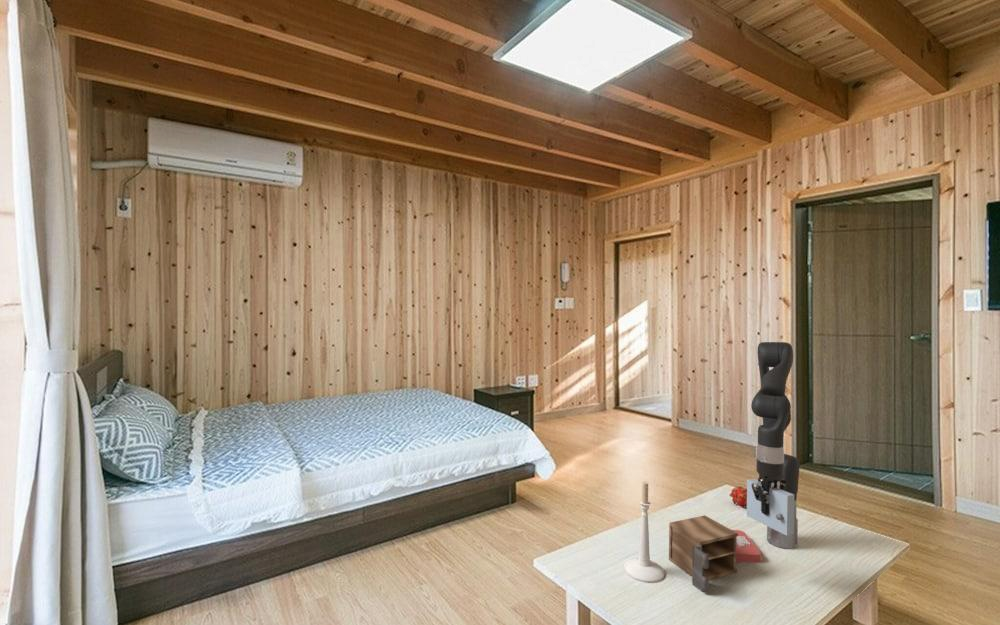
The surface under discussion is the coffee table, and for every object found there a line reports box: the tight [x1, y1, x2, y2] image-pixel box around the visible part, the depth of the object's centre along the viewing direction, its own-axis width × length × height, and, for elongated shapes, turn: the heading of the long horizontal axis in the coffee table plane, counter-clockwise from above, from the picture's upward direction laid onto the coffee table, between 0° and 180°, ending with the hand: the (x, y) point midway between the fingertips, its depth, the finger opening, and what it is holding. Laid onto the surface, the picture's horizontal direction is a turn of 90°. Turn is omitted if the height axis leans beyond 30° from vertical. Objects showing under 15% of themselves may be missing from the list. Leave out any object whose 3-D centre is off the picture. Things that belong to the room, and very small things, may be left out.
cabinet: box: [668, 514, 738, 593], centre depth 154 cm, size 20×20×13 cm
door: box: [746, 478, 794, 536], centre depth 147 cm, size 4×14×12 cm, turn 22°
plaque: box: [732, 529, 762, 563], centre depth 169 cm, size 18×4×15 cm
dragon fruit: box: [729, 486, 747, 510], centre depth 206 cm, size 8×8×12 cm
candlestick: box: [623, 481, 666, 584], centre depth 154 cm, size 13×13×30 cm
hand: (769, 512), depth 147 cm, fingers closed on door, 3 cm apart
